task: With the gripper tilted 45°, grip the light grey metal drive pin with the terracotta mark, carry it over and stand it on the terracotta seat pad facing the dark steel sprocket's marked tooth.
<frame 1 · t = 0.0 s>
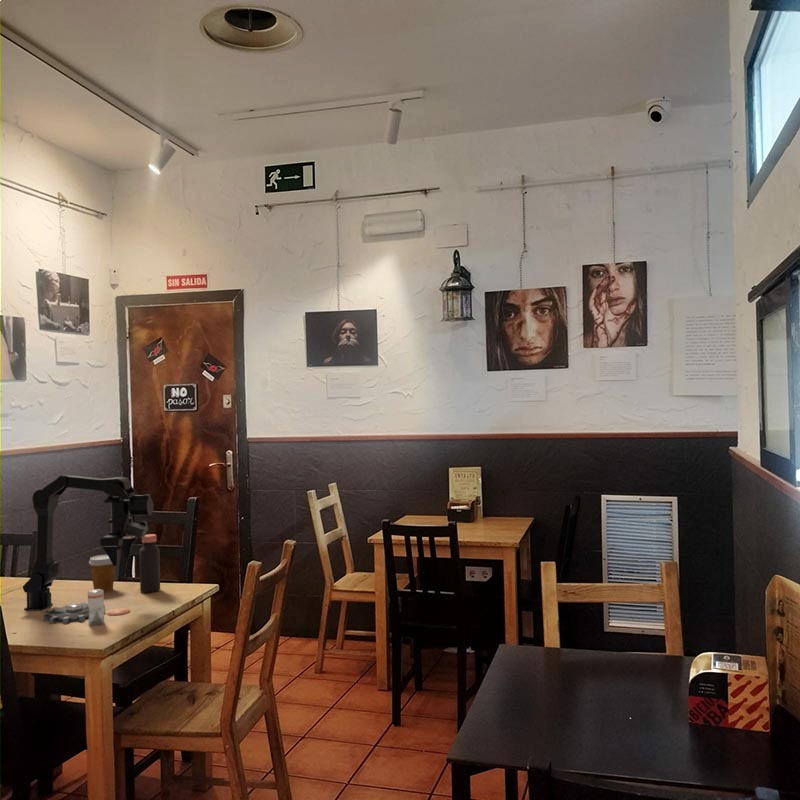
hand: (121, 562, 240), 15 cm above the table, tool pointing down, fingers open, 9 cm apart
sprocket: (74, 614, 231), on the table
bottle: (150, 591, 259), on the table
disposable coffee cup: (103, 590, 262), on the table
seat pad: (118, 612, 233), on the table
drive pin: (96, 623, 222), on the table
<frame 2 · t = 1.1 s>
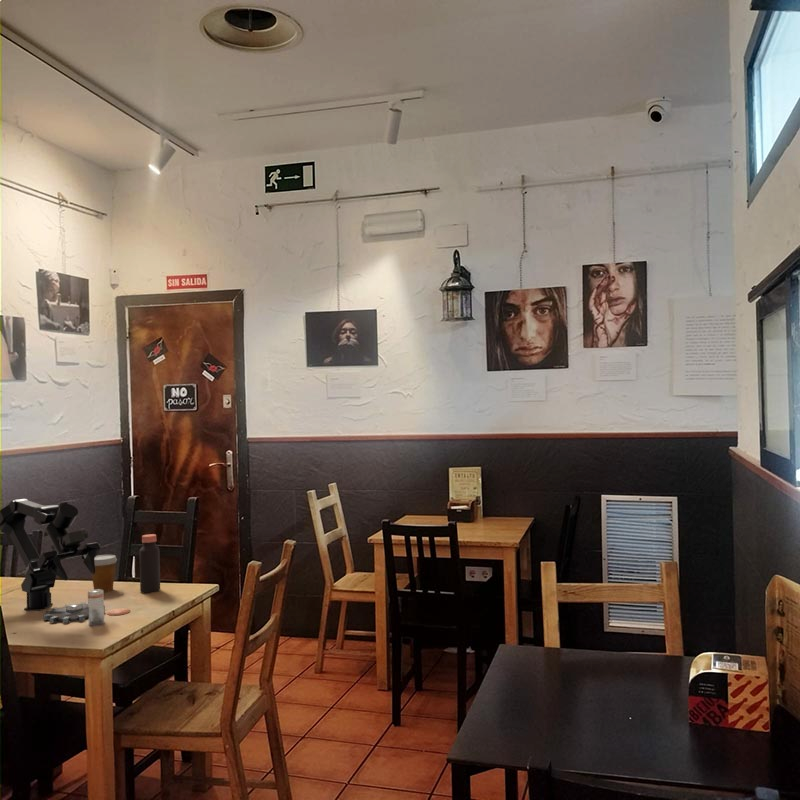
hand: (80, 576, 226), 13 cm above the table, tool tilted 45°, fingers open, 9 cm apart
nothing on the table moved.
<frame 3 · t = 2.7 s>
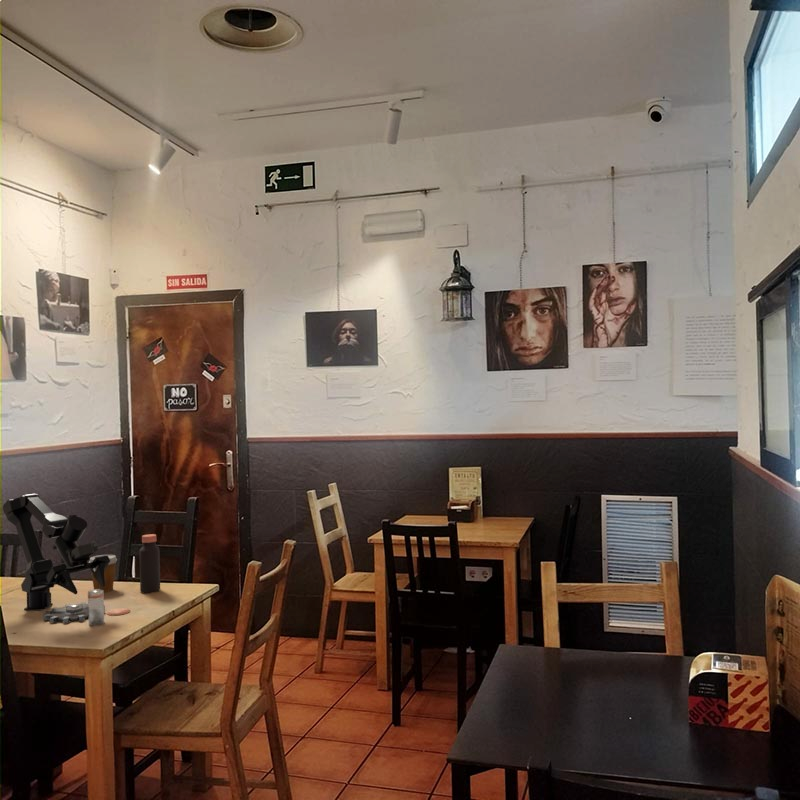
hand: (90, 590, 223), 10 cm above the table, tool tilted 45°, fingers open, 9 cm apart
nothing on the table moved.
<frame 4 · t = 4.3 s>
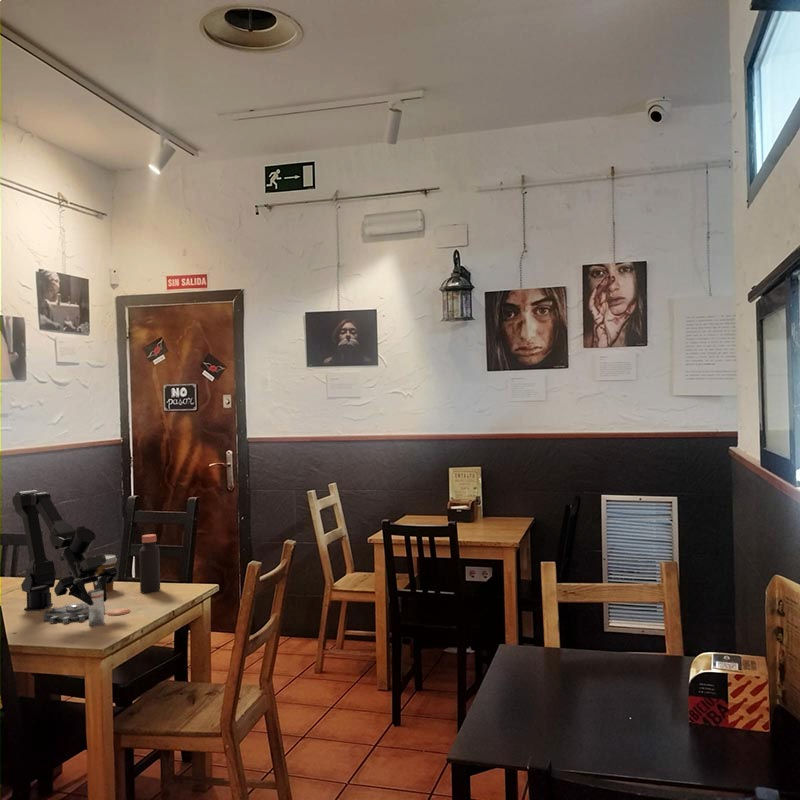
hand: (98, 602, 221), 7 cm above the table, tool tilted 45°, fingers closed on drive pin, 4 cm apart
drive pin: (96, 623, 222), on the table, touching gripper
everything else where it was.
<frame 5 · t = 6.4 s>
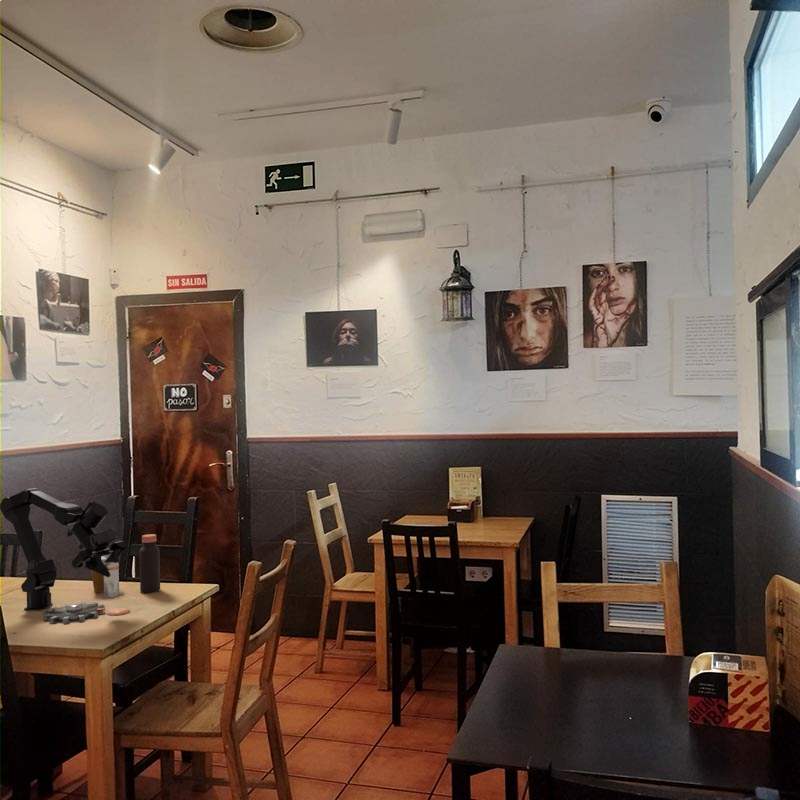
hand: (114, 574, 229), 13 cm above the table, tool tilted 45°, fingers closed on drive pin, 4 cm apart
drive pin: (111, 594, 229), point 7 cm above the table, touching gripper
everything else where it was.
when the fingers open (8 cm above the table, at t = 8.5 s): drive pin stays where it is, resting on seat pad.
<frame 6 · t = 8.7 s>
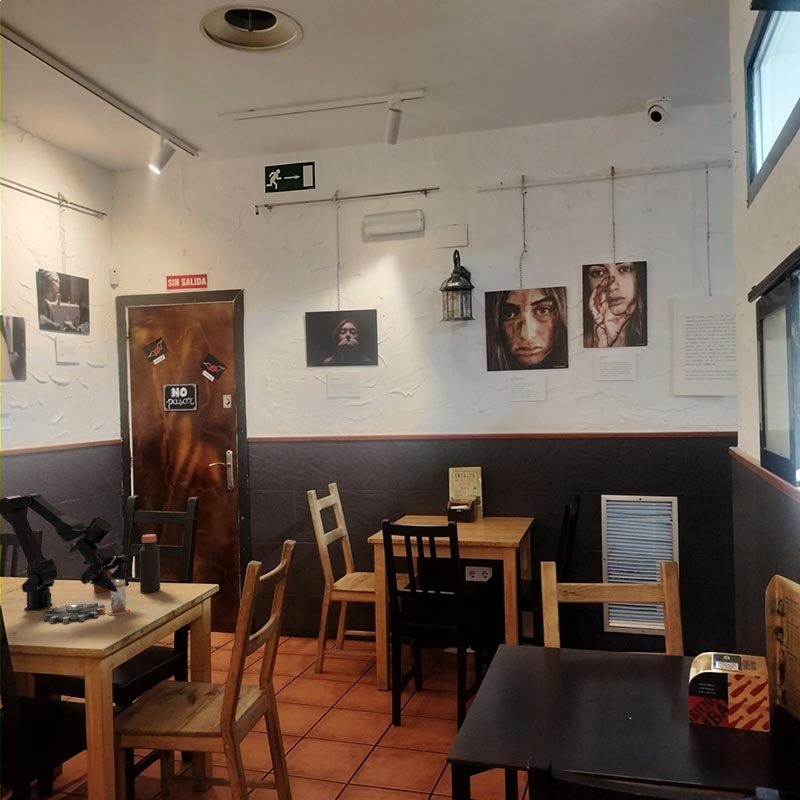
hand: (121, 588, 233), 8 cm above the table, tool tilted 45°, fingers open, 6 cm apart
drive pin: (118, 611, 233), resting on seat pad
everything else where it was.
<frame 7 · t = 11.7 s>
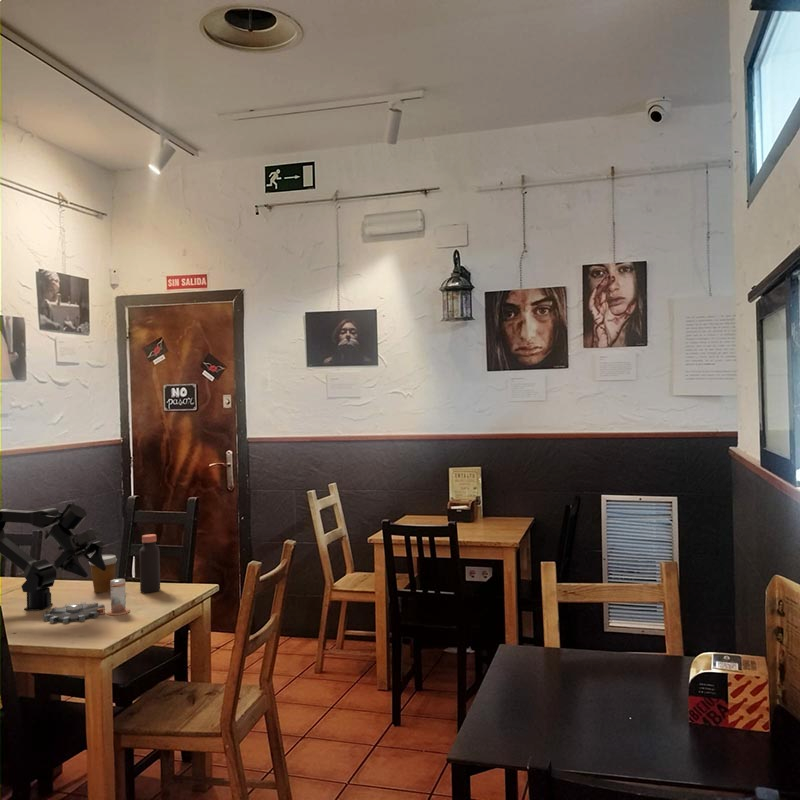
hand: (96, 573, 235), 12 cm above the table, tool tilted 45°, fingers open, 9 cm apart
nothing on the table moved.
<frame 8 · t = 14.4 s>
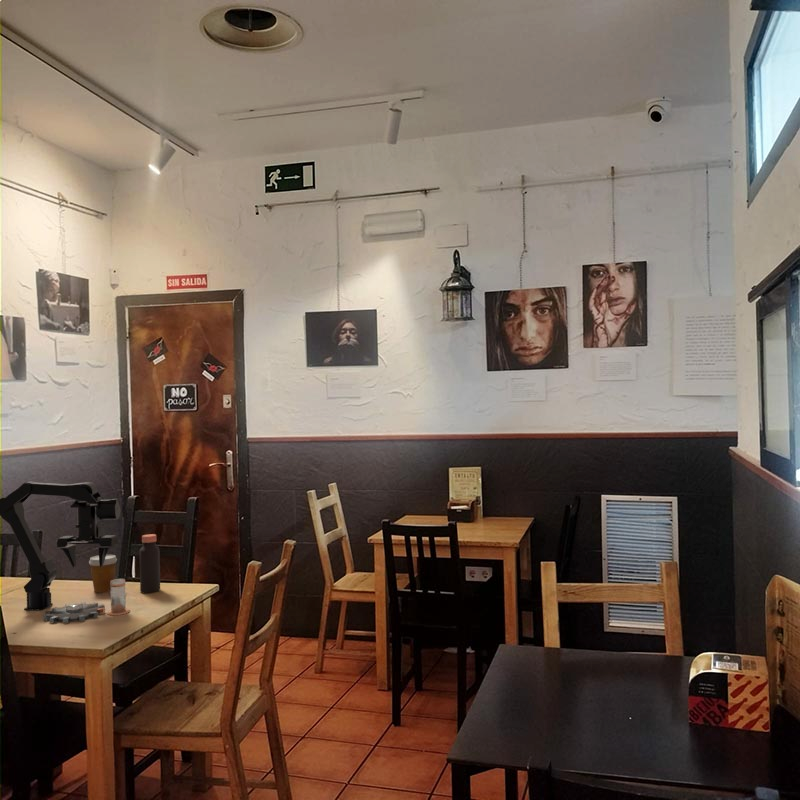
hand: (87, 566, 242), 13 cm above the table, tool pointing down, fingers open, 9 cm apart
nothing on the table moved.
at the end: drive pin 0.1 cm from the seat pad (horizontally); drive pin tilted 0°; the gripper is holding nothing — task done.
